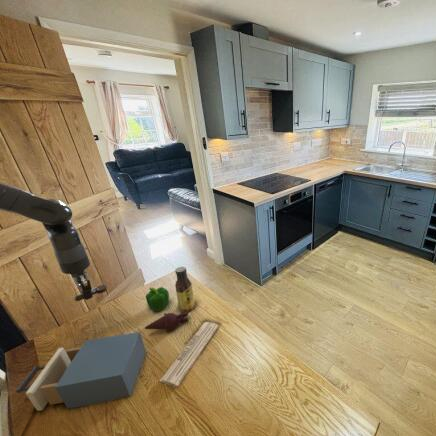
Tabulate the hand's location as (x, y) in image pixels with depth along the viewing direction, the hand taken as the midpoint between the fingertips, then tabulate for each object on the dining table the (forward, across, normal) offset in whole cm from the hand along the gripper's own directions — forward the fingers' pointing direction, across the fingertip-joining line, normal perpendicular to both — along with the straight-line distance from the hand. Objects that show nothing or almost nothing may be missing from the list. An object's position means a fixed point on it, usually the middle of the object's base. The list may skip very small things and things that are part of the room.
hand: (87, 296), depth 88 cm
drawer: (+14, +20, -12) cm, 27 cm away
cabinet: (+15, +27, -4) cm, 31 cm away
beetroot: (+15, +22, +16) cm, 31 cm away
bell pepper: (+15, +8, +20) cm, 26 cm away
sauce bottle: (+15, +18, +27) cm, 35 cm away
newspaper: (+15, +38, +17) cm, 44 cm away
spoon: (0, 0, +2) cm, 2 cm away
